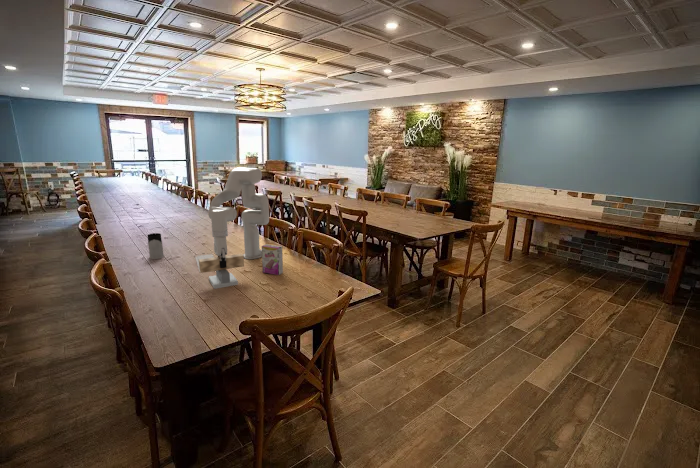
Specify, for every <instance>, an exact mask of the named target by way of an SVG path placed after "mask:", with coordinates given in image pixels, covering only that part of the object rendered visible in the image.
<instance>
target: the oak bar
mask: <svg viewBox="0 0 700 468" xmlns="http://www.w3.org/2000/svg"><path fill="white" fill-rule="evenodd" d="M213 257H214V256H213ZM221 258H222V257H221ZM226 266H227V267H226V268H220V257H218V256H216V257H214V258H207V259H199V269H200V273H201V274H202V273H209V272H214V271H215V272H216V271H217V270H223V269H226V270H229V269H237V268H241V267H245V258H244V256H243V254H242V253H238V254H232V255H231V254H230V255H226ZM199 269H198V270H199Z"/></svg>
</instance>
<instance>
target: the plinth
mask: <svg viewBox="0 0 700 468" xmlns="http://www.w3.org/2000/svg"><path fill="white" fill-rule="evenodd" d="M215 273H216V274H214V275H209V276H208V281H209V282H210V284H211V285H212V288H213V289H221V288H226V287H232V286H238V285H239V280H238V279H237V278H236V276H235V275H234V274H233V273H232V272H229V270H228V269H223V270H217V271H215Z"/></svg>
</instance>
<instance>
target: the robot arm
mask: <svg viewBox="0 0 700 468" xmlns="http://www.w3.org/2000/svg"><path fill="white" fill-rule="evenodd" d="M228 174H229V175H228V177H227V179H226V182H225V187H224V188H223V190H222V191H220V192H219V193H218V194H217V195H215V196H214V197H213V198H212V200H211V202H210V205H209V207H208V214H207V215H208V218H209V219H210V222H211V234H212V237H213V250H214V251H213V252H214V253H215V255H216V257H220V268H226V267H227V266H226V256H228V244H227V237H228V236H229V233H228V230H229V229H228V222H232V221H235V220H236V218H237V217H238V211H237V209H236V208H235V207H233V206H232V207H231V206H221V205H223V204H224V203H226V202H229V201H231V200H235V199H237V198H238V197H239V196H240V194H241V201H242V205H243V207H244V208H246V209H245V210H243V211H242V212H241V217H240V218H241V220H242V221H241V222H242V227H243V242H244V253H243V254H242V255H243V256H244V260H245V259H246V260H256V259H260V258H262V249H260V231H259V230H260V229H259V228H258V226H257V225H259V226H264V225H265V226H266V225H268V224H269V222H270V208H269V207H270V206H269V198H268V196H267V195H266V194H265V193H257V191H256V186H255V185H256V184H258V183H259V182H260V181H261V180H262V178H263V172H262V171H261V169H260V168H259V167H235V168H233V169H231V170H230V172H229V173H228ZM221 257H222V258H221Z"/></svg>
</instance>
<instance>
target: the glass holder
mask: <svg viewBox="0 0 700 468" xmlns="http://www.w3.org/2000/svg"><path fill="white" fill-rule="evenodd" d="M147 246H148V253H149V256H148V258H149V259H150V260H160V259H162V258H164V257H165V255H164V250H163V249H164V248H163V247H164V246H163V240H162V234H161V233H157V232H156V233H154V232H153V233H149V234H147Z"/></svg>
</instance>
